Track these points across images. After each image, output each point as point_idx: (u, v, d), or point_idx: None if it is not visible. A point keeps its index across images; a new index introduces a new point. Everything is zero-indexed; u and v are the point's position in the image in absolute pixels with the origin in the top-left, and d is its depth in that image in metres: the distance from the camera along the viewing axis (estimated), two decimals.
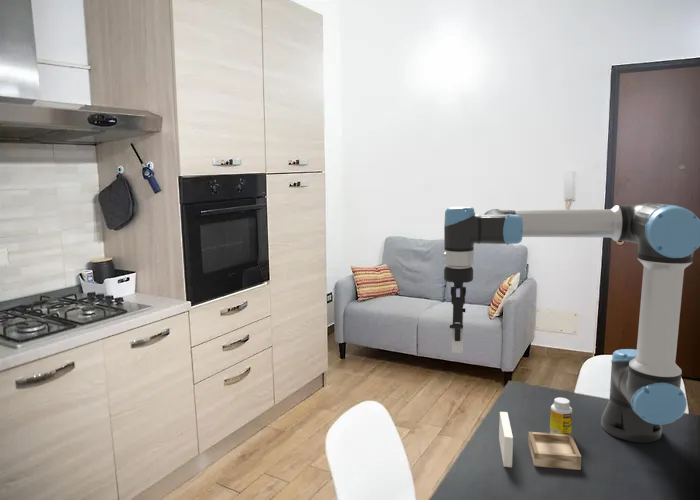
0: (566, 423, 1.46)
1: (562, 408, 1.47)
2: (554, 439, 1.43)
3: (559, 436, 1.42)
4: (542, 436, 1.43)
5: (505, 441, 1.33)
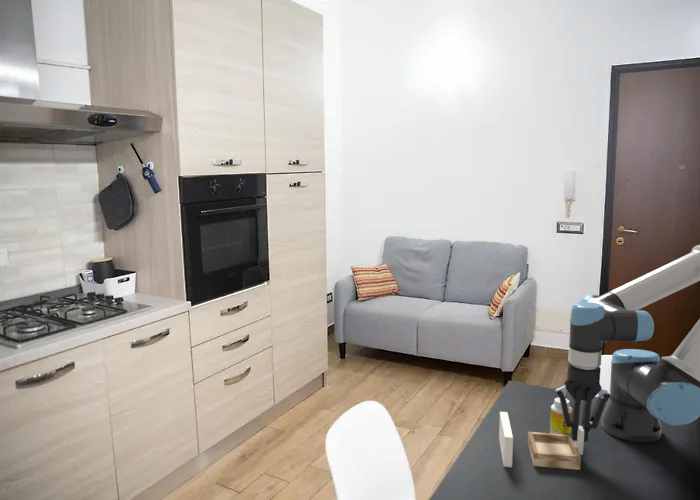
0: None
1: None
2: (553, 439, 1.43)
3: (558, 436, 1.42)
4: (541, 436, 1.43)
5: (505, 441, 1.33)
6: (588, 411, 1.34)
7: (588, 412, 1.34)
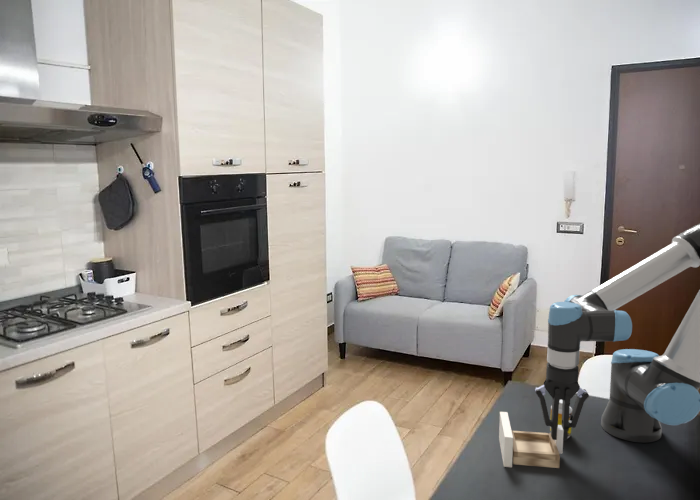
0: None
1: None
2: (534, 438, 1.44)
3: (539, 435, 1.43)
4: (522, 435, 1.44)
5: (505, 441, 1.33)
6: (567, 410, 1.35)
7: (567, 411, 1.35)
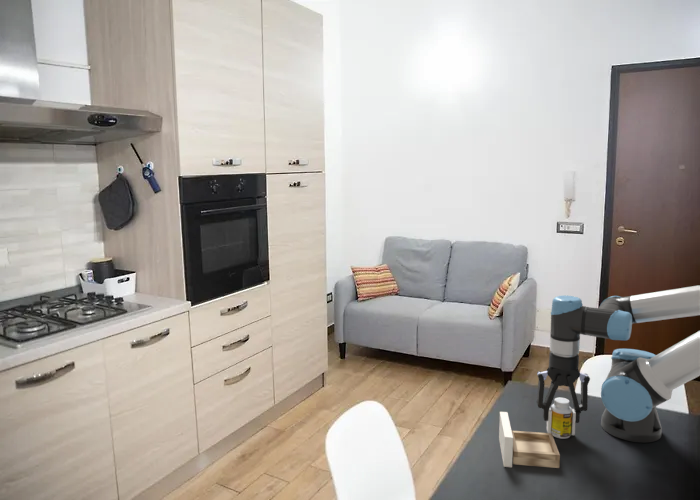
0: (566, 423, 1.46)
1: (562, 408, 1.47)
2: (534, 438, 1.44)
3: (539, 435, 1.43)
4: (522, 435, 1.44)
5: (505, 441, 1.33)
6: (574, 395, 1.46)
7: (574, 396, 1.46)
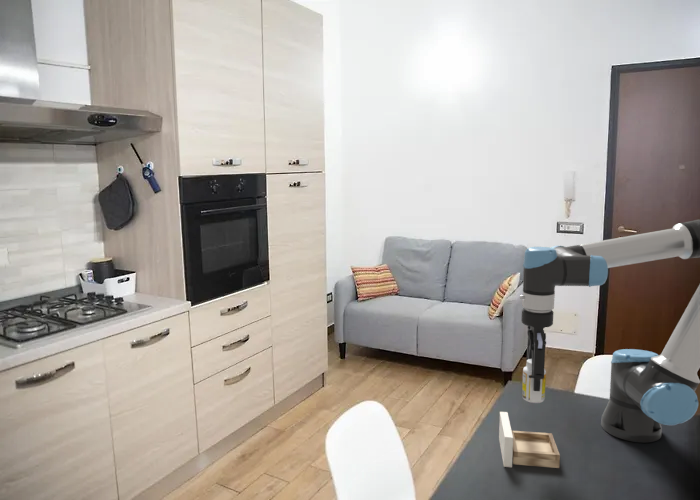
0: None
1: None
2: (534, 438, 1.44)
3: (539, 435, 1.43)
4: (522, 435, 1.44)
5: (505, 441, 1.33)
6: None
7: None
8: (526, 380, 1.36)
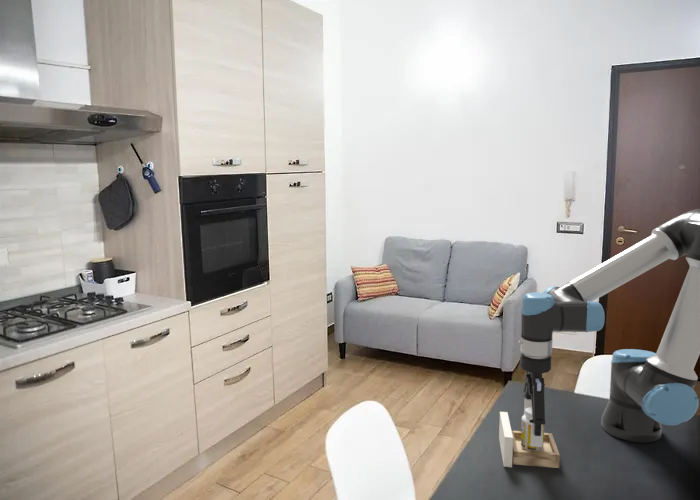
0: None
1: None
2: None
3: None
4: None
5: (505, 441, 1.33)
6: None
7: None
8: (525, 430, 1.37)
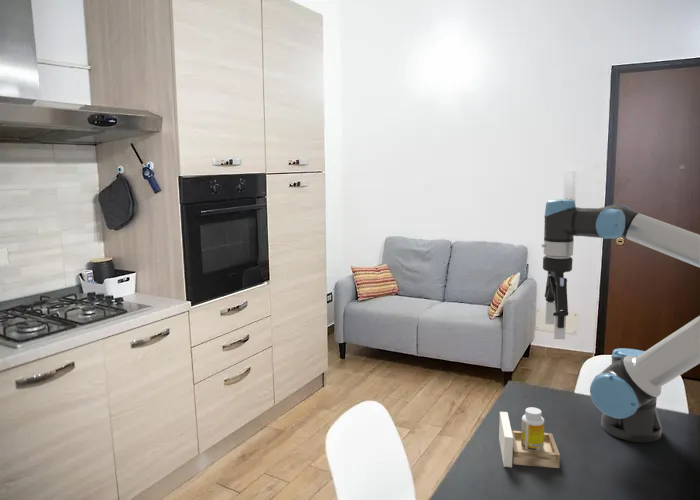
0: None
1: (540, 416, 1.38)
2: None
3: None
4: None
5: (505, 441, 1.33)
6: None
7: None
8: (525, 430, 1.37)
